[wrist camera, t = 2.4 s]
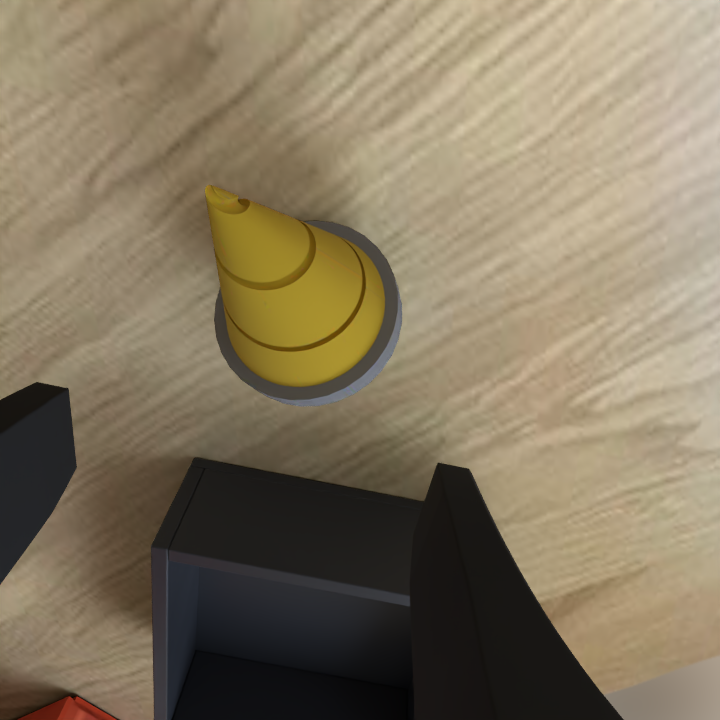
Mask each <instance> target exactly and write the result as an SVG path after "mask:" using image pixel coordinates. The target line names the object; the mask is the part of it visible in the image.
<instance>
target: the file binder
mask: <svg viewBox="0 0 720 720" xmlns="http://www.w3.org/2000/svg"><path fill="white" fill-rule="evenodd" d="M17 720H117V719H115V718H113V717H111V716H110V715H108V714H106V713H105V712H103V711H101V710H100V709H98V708H96V707H94V706H93V705H91V704H89V703H88V702H86V701H84V700H83V699H81V698H79V697H77V696H76V697H74V698H71V697H70V696H68V697H66V698H64V699H61V700H59V701H57V702H55V703H53V704H50V705H48V706H46V707H44V708H42V709H39V710H37V711H35V712H33V713H31V714H28V715H26V716H24V717H22V718H20V719H17Z"/></svg>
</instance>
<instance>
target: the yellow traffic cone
mask: <svg viewBox="0 0 720 720" xmlns="http://www.w3.org/2000/svg"><path fill="white" fill-rule="evenodd" d="M205 195H206V202H207V208H208V214H209V220H210V226H211V232H212V238H213V244H214V250H215V257H216V263H217V269H218V275H219V281H220V290H219V293H218V297H217V300H216V307H215V318H214V321H215V330H216V338H217V341H218V344H219V347H220V350H221V353H222V355H223V356H224V358H225V360H226V361H227V363H228V365H229V366H230V368H231V369H232V370H233V371H234V372H235V373H236V374H237V375H238V377H239V378H240V379H241V380H242V381H244V382H245V383H247V384H248V385H250V386H251V387H252V388H254V389H255V390H257V391H259V392H260V393H262V394H264V395H265V396H267V397H269V398H272V399H274V400H277V401H279V402H281V403H285V404H290V405H295V406H321V405H325V404H330V403H334V402H337V401H340V400H342V399H344V398H347V397H349V396H351V395H353V394H355V393H356V392H358V391H359V390H361V389H362V388H363V387H365V386H366V385H368V384H369V383H370V382H371V381H372V380H373V379H374V378H375V377H376V376H377V375H378V374H379V373H380V372H381V371H382V369H383V368H384V366H385V365H386V363H387V362H388V360H389V359H390V357H391V356H392V353H393V351H394V349H395V346H396V344H397V341H398V339H399V334H400V329H401V324H402V303H401V299H400V294H399V289H398V286H397V283H396V280H395V277H394V274H393V272H392V270H391V268H390V266H389V263H388V261H387V259H386V258H385V257H384V255H383V254H382V253H381V251H380V250H379V249H378V247H377V246H376V245H374V244H373V243H372V242H371V241H370V240H369V239H367V238H366V237H365V236H364V235H362V234H360V233H358V232H357V231H355V230H353V229H351V228H349V227H346V226H343V225H340V224H337V223H333V222H324V221H305V222H302V221H300V220H297V219H294V218H292V217H290V216H287V215H285V214H282V213H280V212H277V211H275V210H272V209H270V208H267V207H265V206H263V205H260V204H258V203H255V202H253V201H250V200H248V199H239V200H238V197H239V196H238V195H235V194H233V193H230V192H228V191H225V190H223V189H220V188H218V187H215V186H212V185H208V186H206V188H205Z"/></svg>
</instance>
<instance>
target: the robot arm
mask: <svg viewBox="0 0 720 720" xmlns="http://www.w3.org/2000/svg"><path fill="white" fill-rule="evenodd" d="M76 468H77V466H76V456H75V446H74V437H73V427H72V417H71V408H70V398H69V389H68V388H63V387H59V386H54V385H49V384H44V383H39V382H36V383H34V384H32V385H30V386H28V387H25V388H23V389H21V390H19V391H17V392H15V393H13V394H11V395H9V396H7V397H5V398H3V399H1V400H0V584H1V583H2V581H3V580H4V579H5V577H6V576H7V575H8V573H9V572H10V570H11V569H12V568H13V566H14V565H15V564H16V562H17V561H18V560H19V558H20V557H21V555H22V554H23V553H24V551H25V550H26V549H27V547H28V546H29V544H30V543H31V542H32V540H33V539H34V538H35V536H36V535H37V533H38V532H39V531H40V529H41V528H42V526H43V525H44V524H45V522H46V521H47V519H48V518H49V516H50V515H51V514H52V512H53V510H54V508H55V507H56V505H57V503H58V501H59V500H60V498H61V496H62V494H63V492H64V491H65V489H66V487H67V485H68V483H69V481H70V479H71V477H72V475H73V473H74V472H75V470H76ZM410 613H411V638H412V662H413V686H414V720H623V718H622V717H621V716H620V715H619V714H618V712H617V711H616V710H615V709H614V708H613V706H612V705H611V704H610V703H609V701H608V700H607V699H606V698H605V697H604V695H603V694H602V693H601V692H600V690H599V689H598V688H597V686H596V685H595V684H594V682H593V681H592V680H591V678H590V677H589V676H588V674H587V673H586V672H585V670H584V669H583V668H582V666H581V665H580V664H579V662H578V661H577V659H576V658H575V657H574V655H573V654H572V652H571V651H570V650H569V648H568V647H567V645H566V644H565V642H564V641H563V640H562V638H561V637H560V635H559V634H558V632H557V631H556V629H555V628H554V626H553V624H552V623H551V621H550V620H549V618H548V617H547V615H546V614H545V612H544V610H543V609H542V607H541V605H540V604H539V602H538V601H537V599H536V597H535V596H534V594H533V592H532V591H531V589H530V587H529V586H528V584H527V582H526V580H525V579H524V577H523V575H522V573H521V572H520V570H519V568H518V566H517V564H516V563H515V561H514V559H513V557H512V555H511V553H510V551H509V550H508V548H507V546H506V544H505V542H504V540H503V538H502V536H501V534H500V532H499V531H498V529H497V527H496V524H495V522H494V520H493V518H492V516H491V514H490V512H489V510H488V508H487V506H486V504H485V502H484V499H483V497H482V495H481V493H480V491H479V488H478V486H477V484H476V482H475V480H474V477H473V475H472V473H471V472H470V470H469V469H467V468H462V467H457V466H452V465H447V464H442V463H437V466H436V469H435V472H434V475H433V478H432V481H431V484H430V487H429V489H428V492H427V495H426V498H425V501H424V504H423V507H422V510H421V513H420V515H419V518H418V521H417V524H416V527H415V530H414V533H413V542H412V554H411V568H410Z"/></svg>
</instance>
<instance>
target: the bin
mask: <svg viewBox="0 0 720 720" xmlns="http://www.w3.org/2000/svg"><path fill="white" fill-rule="evenodd" d="M423 504H424V502H421V501H416V500H411V499H405V498H400V497H395V496H390V495H385V494H380V493H375V492H369V491H364V490H359V489H354V488H349V487H344V486H338V485H333V484H328V483H323V482H318V481H313V480H308V479H302V478H297V477H292V476H287V475H282V474H277V473H272V472H266V471H261V470H256V469H251V468H246V467H241V466H236V465H230V464H225V463H220V462H215V461H210V460H205V459H200V458H194V459H193V461H192V463H191V465H190V467H189V469H188V471H187V473H186V475H185V477H184V480H183V482H182V484H181V486H180V488H179V490H178V492H177V494H176V496H175V498H174V500H173V502H172V504H171V506H170V508H169V510H168V512H167V514H166V516H165V518H164V520H163V523H162V525H161V527H160V529H159V531H158V533H157V535H156V537H155V539H154V541H153V543H152V545H151V572H152V627H153V681H154V720H414V686H413V662H412V638H411V613H410V568H411V554H412V542H413V533H414V530H415V527H416V524H417V521H418V518H419V515H420V513H421V510H422V507H423Z"/></svg>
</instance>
